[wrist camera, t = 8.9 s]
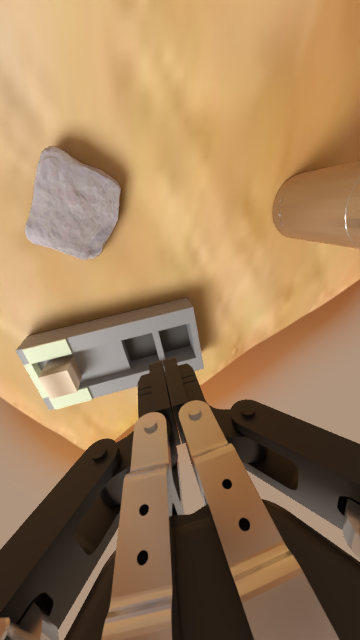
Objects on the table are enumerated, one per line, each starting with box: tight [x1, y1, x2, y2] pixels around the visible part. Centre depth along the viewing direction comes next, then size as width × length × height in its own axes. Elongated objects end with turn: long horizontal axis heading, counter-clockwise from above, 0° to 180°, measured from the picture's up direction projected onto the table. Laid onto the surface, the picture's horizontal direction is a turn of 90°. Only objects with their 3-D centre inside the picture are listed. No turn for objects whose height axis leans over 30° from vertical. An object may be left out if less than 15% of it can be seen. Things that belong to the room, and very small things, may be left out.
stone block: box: [25, 146, 121, 260], centre depth 32 cm, size 12×5×10 cm
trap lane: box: [16, 298, 204, 410], centre depth 40 cm, size 26×12×5 cm, turn 101°
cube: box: [38, 355, 82, 399], centre depth 37 cm, size 4×4×4 cm
